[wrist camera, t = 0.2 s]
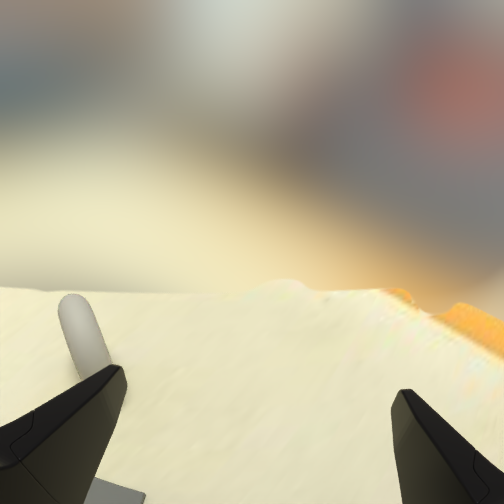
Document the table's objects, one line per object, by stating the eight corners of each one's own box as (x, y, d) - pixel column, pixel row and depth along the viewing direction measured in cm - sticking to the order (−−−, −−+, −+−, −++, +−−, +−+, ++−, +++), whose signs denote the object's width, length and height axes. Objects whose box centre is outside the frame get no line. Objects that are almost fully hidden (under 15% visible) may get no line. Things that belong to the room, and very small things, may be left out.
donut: (73, 357, 31) (49, 280, 27) (99, 348, 33) (79, 272, 29) (97, 419, 24) (63, 336, 20) (130, 407, 26) (104, 324, 22)
